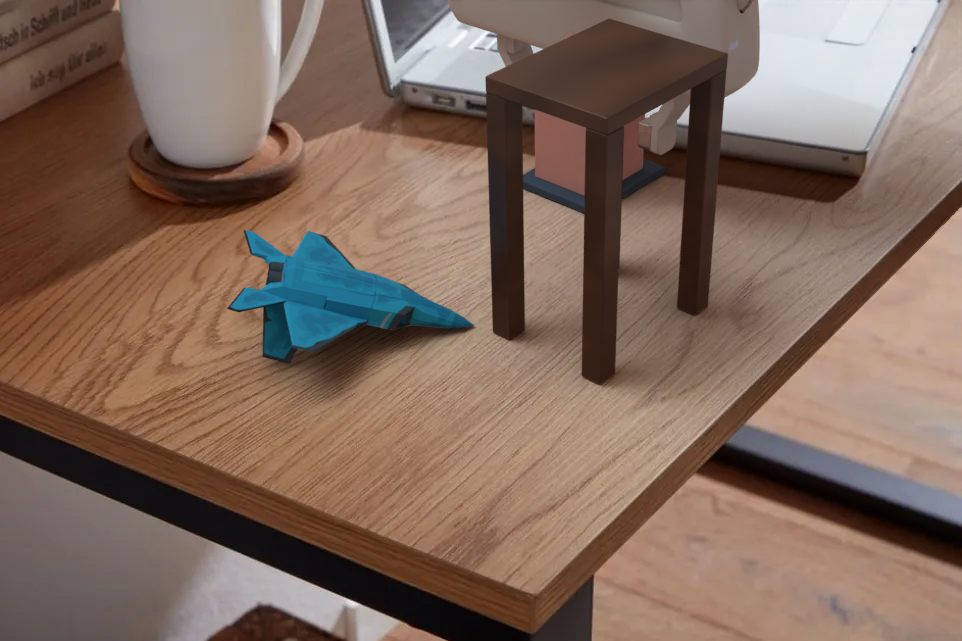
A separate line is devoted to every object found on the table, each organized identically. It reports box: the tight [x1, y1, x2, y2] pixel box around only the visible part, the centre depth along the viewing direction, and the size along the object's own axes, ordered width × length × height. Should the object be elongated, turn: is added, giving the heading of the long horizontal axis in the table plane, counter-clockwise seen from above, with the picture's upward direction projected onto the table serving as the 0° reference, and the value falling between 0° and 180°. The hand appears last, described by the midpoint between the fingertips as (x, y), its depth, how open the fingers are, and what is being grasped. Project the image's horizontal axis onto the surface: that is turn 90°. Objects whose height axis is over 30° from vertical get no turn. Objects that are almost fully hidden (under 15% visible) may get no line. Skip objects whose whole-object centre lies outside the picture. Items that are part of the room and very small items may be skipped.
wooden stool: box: [484, 19, 728, 385], centre depth 65 cm, size 7×9×14 cm
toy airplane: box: [226, 229, 475, 365], centre depth 68 cm, size 12×10×4 cm
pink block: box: [534, 33, 646, 196], centre depth 78 cm, size 4×5×10 cm
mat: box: [523, 158, 666, 214], centre depth 81 cm, size 6×7×1 cm
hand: (591, 125), depth 79 cm, fingers open, 8 cm apart
